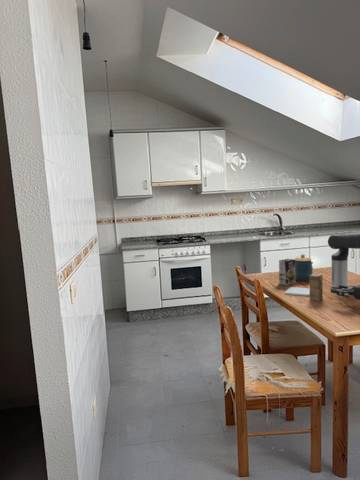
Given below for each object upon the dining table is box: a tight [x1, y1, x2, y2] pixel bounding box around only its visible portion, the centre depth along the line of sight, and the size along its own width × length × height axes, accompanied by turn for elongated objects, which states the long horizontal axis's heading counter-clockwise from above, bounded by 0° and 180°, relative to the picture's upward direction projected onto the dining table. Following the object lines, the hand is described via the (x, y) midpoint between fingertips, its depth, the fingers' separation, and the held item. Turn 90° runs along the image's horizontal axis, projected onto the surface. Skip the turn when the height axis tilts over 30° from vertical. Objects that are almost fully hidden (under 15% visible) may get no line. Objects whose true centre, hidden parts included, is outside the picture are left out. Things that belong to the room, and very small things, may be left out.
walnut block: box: [309, 273, 324, 302], centre depth 210 cm, size 5×5×14 cm
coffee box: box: [278, 258, 296, 286], centre depth 248 cm, size 9×6×16 cm
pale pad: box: [284, 286, 310, 297], centre depth 227 cm, size 14×14×1 cm
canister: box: [294, 253, 314, 282], centre depth 257 cm, size 13×13×18 cm
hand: (335, 288), depth 201 cm, fingers open, 8 cm apart
